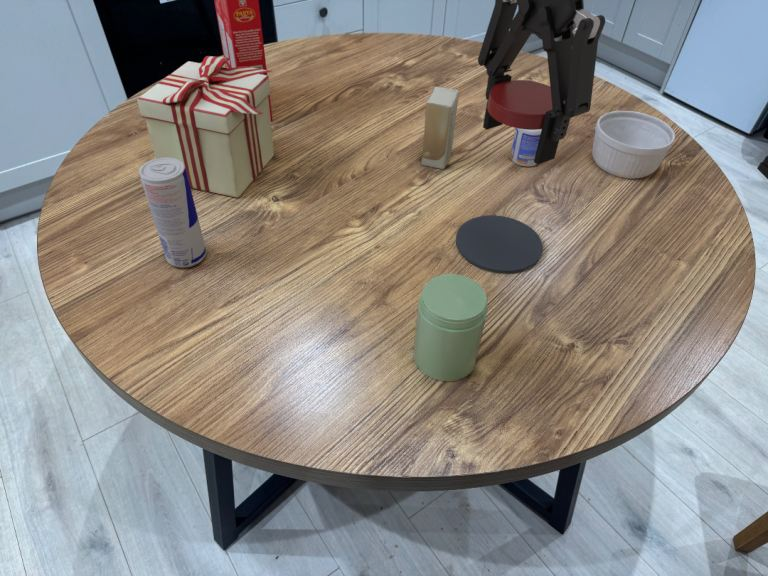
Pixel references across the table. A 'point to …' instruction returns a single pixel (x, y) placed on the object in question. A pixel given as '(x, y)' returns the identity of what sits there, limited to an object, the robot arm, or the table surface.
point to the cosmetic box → (439, 127)
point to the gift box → (212, 123)
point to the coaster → (499, 244)
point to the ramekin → (631, 143)
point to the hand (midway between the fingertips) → (517, 142)
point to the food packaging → (241, 34)
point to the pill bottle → (525, 146)
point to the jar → (449, 326)
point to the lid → (520, 103)
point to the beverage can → (173, 211)
